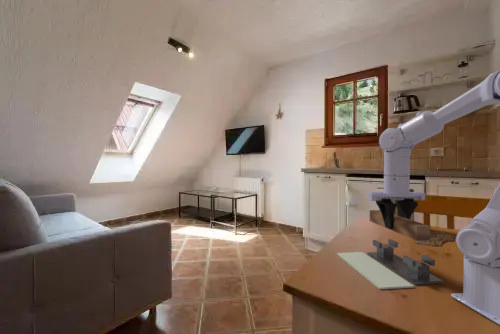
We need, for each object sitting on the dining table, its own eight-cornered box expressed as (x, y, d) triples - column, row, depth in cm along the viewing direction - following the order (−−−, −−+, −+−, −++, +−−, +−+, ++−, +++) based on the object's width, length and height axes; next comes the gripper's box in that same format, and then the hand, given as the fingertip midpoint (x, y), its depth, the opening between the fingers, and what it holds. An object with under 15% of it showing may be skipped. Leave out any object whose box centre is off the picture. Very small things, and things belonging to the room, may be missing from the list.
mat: (413, 287, 53) (413, 285, 53) (379, 289, 52) (379, 287, 52) (362, 253, 73) (362, 251, 73) (336, 254, 72) (336, 252, 72)
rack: (443, 283, 54) (443, 262, 54) (414, 284, 54) (414, 263, 54) (389, 253, 72) (389, 237, 72) (367, 254, 72) (367, 238, 72)
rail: (430, 240, 54) (430, 226, 54) (416, 240, 54) (417, 226, 54) (379, 220, 72) (379, 210, 72) (369, 221, 72) (369, 210, 72)
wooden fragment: (436, 249, 76) (436, 246, 76) (399, 240, 86) (399, 237, 86) (465, 236, 90) (465, 233, 90) (431, 229, 99) (431, 227, 99)
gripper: (410, 174, 67) (410, 223, 67) (361, 175, 66) (360, 224, 66) (432, 176, 60) (431, 230, 60) (377, 176, 59) (376, 232, 59)
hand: (395, 227), depth 63 cm, fingers closed on rail, 3 cm apart
